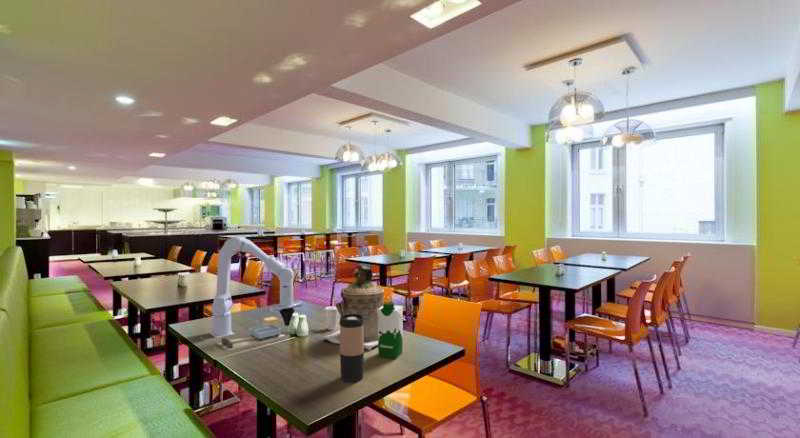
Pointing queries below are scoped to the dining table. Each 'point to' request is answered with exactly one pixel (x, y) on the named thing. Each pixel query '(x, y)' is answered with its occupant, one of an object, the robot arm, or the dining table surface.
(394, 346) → the milk carton
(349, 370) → the travel mug
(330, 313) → the smoothie
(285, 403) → the dining table surface
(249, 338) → the track
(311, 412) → the dining table surface
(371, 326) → the cookie jar
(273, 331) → the blue square tray
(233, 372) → the dining table surface
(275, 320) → the ochre block
